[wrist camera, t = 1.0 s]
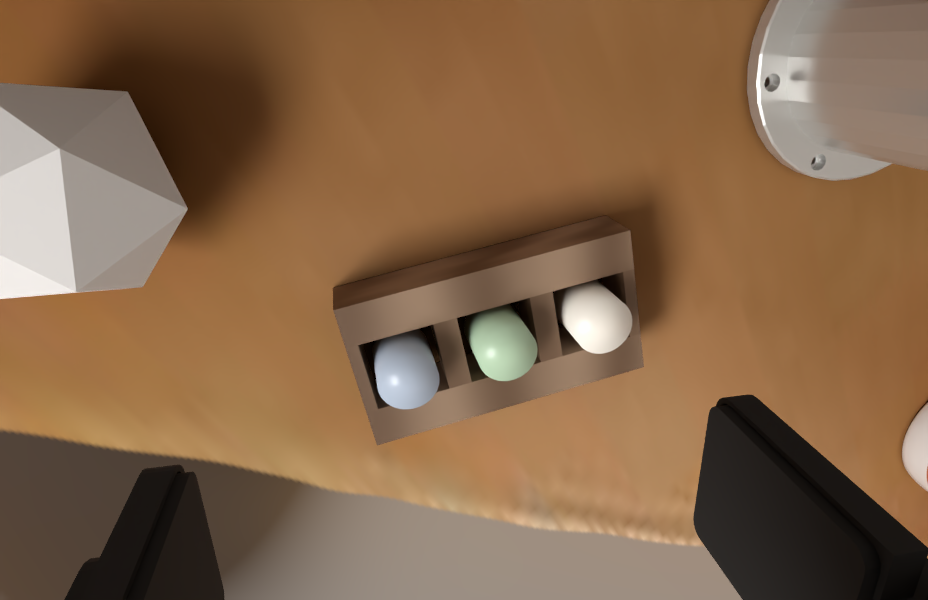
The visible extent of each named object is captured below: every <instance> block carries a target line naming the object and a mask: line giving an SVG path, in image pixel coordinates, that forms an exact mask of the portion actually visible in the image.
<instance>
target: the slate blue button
mask: <svg viewBox="0 0 928 600" xmlns="http://www.w3.org/2000/svg"><path fill="white" fill-rule="evenodd" d="M373 360H374V367H375V374H376V381H377V388H378V392H379V394H380V396H381V398H382V399H383V400H384V401H385V402H386V403H387V404H389V405H390V406H392V407H395V408H398V409H414V408H417V407H420V406H422V405H424V404H426V403H427V402H428V401H430V400H431V399H432V398H433V396H434V395H435V393H436V392H437V389H438V387H439V373H438V370H437V367H436V364H435V361H434V358H433V355H432V352H431V349H430V346H429V343H428V340H427V338H426V336H425V335H424V333H423V332H422V331H421V330H419V329H415V330H411V331H408V332H404V333H400V334H397V335H393V336H390V337H386V338H382V339H379V340H375V342H374V344H373Z"/></svg>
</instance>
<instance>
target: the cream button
mask: <svg viewBox="0 0 928 600" xmlns="http://www.w3.org/2000/svg"><path fill="white" fill-rule="evenodd" d="M553 298H554V304H555V311H556V317H557V318H558V320H559V321H560V322H561V323H562V324H563V326H564V327H565V328H566V329H567V330H568V332H569V333H570V334H571V335H572V336H573V338H574V339H575V340H576V341H577V342H578V343H579V345H580V346H581V347H582V348H583V349H585V350H586V351H588V352H591V353H595V354H603V353H607V352H610V351H612V350H614V349H616V348H618V347H619V346H620V345H621V344H622V343H623V342H624V341H625V340H626V339H627V337H628V335H629V333H630V331H631V328H632V315H631V312H630V310H629V308H628V307H627V306H626V305H625V304H624V303H623V302H622V301H621V300H620V299H618V298H617V297H616V296H615V295H614V294H613V293H612V292H610V291H609V290H608V289H607V288H606V287H605V286H604V285H602V284H601V283H600V282H599V281H598V280H597V279H596V280H592V281H588V282H585V283H581V284H578V285H574V286H570V287H567V288H563V289H560V290H556V291H555V293H554V296H553Z"/></svg>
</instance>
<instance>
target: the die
mask: <svg viewBox="0 0 928 600" xmlns="http://www.w3.org/2000/svg"><path fill="white" fill-rule="evenodd" d="M187 210H188V208H187V206H186V204H185V202H184V200H183V198H182V196H181V194H180V193H179V191H178V189H177V187H176V185H175V183H174V181H173V179H172V177H171V175H170V173H169V171H168V169H167V167H166V165H165V163H164V161H163V159H162V157H161V155H160V153H159V152H158V150H157V148H156V146H155V144H154V142H153V140H152V138H151V136H150V134H149V132H148V130H147V128H146V126H145V124H144V122H143V120H142V118H141V116H140V114H139V113H138V111H137V109H136V107H135V105H134V103H133V101H132V99H131V97H130V95H129V93H128V92H127V91H112V90H97V89H82V88H67V87H52V86H37V85H23V84H8V83H0V299H4V298H17V297H29V296H41V295H53V294H65V293H77V292H89V291H101V290H113V289H125V288H137V287H143V286H144V284H145V282H146V280H147V279H148V277H149V275H150V274H151V272H152V270H153V268H154V267H155V265H156V263H157V261H158V260H159V258H160V256H161V255H162V253H163V251H164V249H165V248H166V246H167V244H168V242H169V241H170V239H171V237H172V236H173V234H174V232H175V230H176V229H177V227H178V225H179V224H180V222H181V220H182V218H183V217H184V215H185V213H186V211H187Z"/></svg>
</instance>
